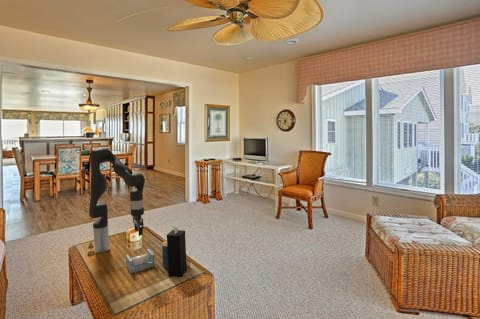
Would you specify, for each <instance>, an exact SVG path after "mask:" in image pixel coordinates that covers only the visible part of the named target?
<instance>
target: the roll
mask: <svg viewBox="0 0 480 319" xmlns="http://www.w3.org/2000/svg"><path fill="white" fill-rule="evenodd" d="M130 258H131V260H132V267H133V268H134V267H137V266H140V265H143V264H146V263H149V258H148V255H147V253H145V254H141V255H138V256H133V257H130Z"/></svg>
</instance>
